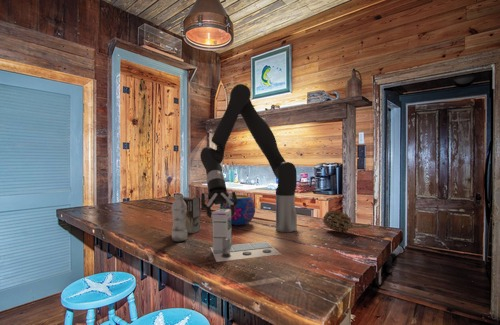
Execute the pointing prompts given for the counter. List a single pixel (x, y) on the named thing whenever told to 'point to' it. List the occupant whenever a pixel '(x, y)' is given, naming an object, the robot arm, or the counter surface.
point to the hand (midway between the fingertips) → (221, 215)
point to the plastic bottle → (179, 218)
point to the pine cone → (340, 221)
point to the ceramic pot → (242, 210)
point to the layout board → (247, 251)
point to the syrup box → (221, 227)
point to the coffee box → (192, 214)
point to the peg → (226, 247)
